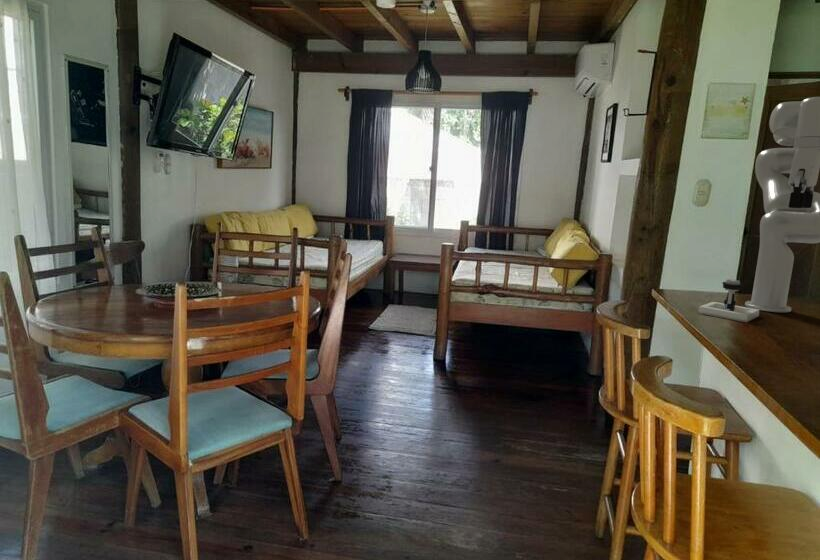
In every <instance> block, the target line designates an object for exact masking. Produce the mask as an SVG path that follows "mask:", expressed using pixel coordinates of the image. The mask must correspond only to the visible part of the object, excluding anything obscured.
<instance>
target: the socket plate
mask: <svg viewBox="0 0 820 560" xmlns="http://www.w3.org/2000/svg"><path fill="white" fill-rule="evenodd" d="M723 307H724V302H723V303H722V302H717V301H716V302H715V301H711V302H709V303H708V302H707V303H705V304H701V305H700V306H698V311H697V312H698V314H701V315H705V316H706V315H707V316H711V317H716V318H721V319H725V320H732V321H738V322H743V323H748V322H749V321H752V320H754V319H756V318H758V317H759V316H760V310H758V309H753V308H750V307H747V306H741V305H740V306H739V305H735V311H728V310H725V307H724V310H723Z"/></svg>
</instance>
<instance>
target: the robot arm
mask: <svg viewBox="0 0 820 560" xmlns="http://www.w3.org/2000/svg"><path fill="white" fill-rule="evenodd" d="M768 123H769V124H768V125H769V129H770V132H771V133H772V134H773V135H772V136H773V139H774V140H773V141H775V142H776V143H777V144H778V145H780V146H785V147H774V148H768V149H764V150H761V152H759V154H758V155H757V157H756V159H755V163H754V164H755V166H754V171H755V177H756V180H757V182H758V184H759V186H760V188H761V190H762V197H763V200H762V201H763V209H764V213H765V214H764V215H762V217H761V219H760V222H759V248H758V249H759V250H758V255H757V263H756V269H755V274H754V275H755V276H754V281H753V286H752V287H753V288H752V292H751V293H752V294H751V299H750V300H747V301H745V302H744V306H745V307H747V308H752V309H758V310H759V311H764V312H771V313H790V312H792V307H791V306H789V305H788V304H787V303H788V296H789V291H790V285H791V279H792V272H793V267H794V262H795V261H794V260H795V255H794V253H793V250H791V248H790V247H789V245H787V243H797V244H798V243H801V244H819V243H820V192H818V191H817V192H816V191H815V189H814V188H815V186H817V184H818V183H817V182H818V178H819V173H820V96H812V97H807V98H805V99H803V100H801V101H800V100H798V101H784V102H780V103H779V104H777V105H776V106H775V107H774V109H773V110H772V112H771V114H770V116H769V122H768ZM784 174H789V177H787V176H785V175H784Z"/></svg>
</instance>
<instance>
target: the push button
mask: <svg viewBox="0 0 820 560" xmlns="http://www.w3.org/2000/svg"><path fill="white" fill-rule="evenodd" d="M743 285H744V284H742V283H741V280H738V279H729V278H727V279H725V281H722V288H723V289H724V290H726V291H728V292H727V295H726V298H725V299H724V300H723V303H724V307H725V310H728V311H735V306H736V305H737V304H736V303H737V301H736V300H735V295H736V293H735V292H738V291H741V290H742V287H743ZM724 307H723V310H724Z"/></svg>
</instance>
